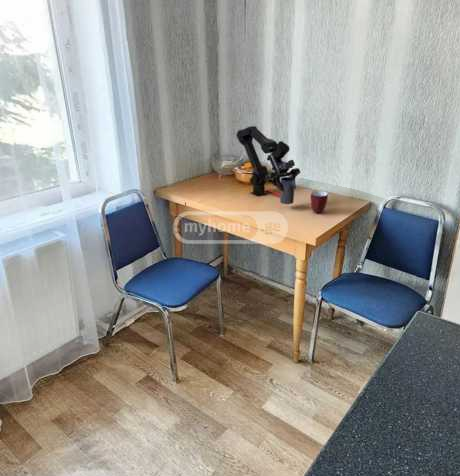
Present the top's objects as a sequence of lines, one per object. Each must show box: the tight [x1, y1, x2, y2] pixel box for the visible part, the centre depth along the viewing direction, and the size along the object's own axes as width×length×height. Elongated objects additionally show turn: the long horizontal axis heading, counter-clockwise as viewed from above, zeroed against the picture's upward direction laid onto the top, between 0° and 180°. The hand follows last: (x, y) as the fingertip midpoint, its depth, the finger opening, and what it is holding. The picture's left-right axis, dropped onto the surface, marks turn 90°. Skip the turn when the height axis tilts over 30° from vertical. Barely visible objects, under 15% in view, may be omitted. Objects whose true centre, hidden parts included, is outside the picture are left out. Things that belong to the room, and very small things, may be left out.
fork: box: [265, 188, 280, 198], centre depth 222 cm, size 16×3×1 cm, turn 36°
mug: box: [310, 190, 329, 215], centre depth 195 cm, size 11×8×10 cm
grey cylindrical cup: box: [279, 176, 296, 205], centre depth 199 cm, size 7×7×12 cm
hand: (289, 190), depth 197 cm, fingers closed on grey cylindrical cup, 7 cm apart
